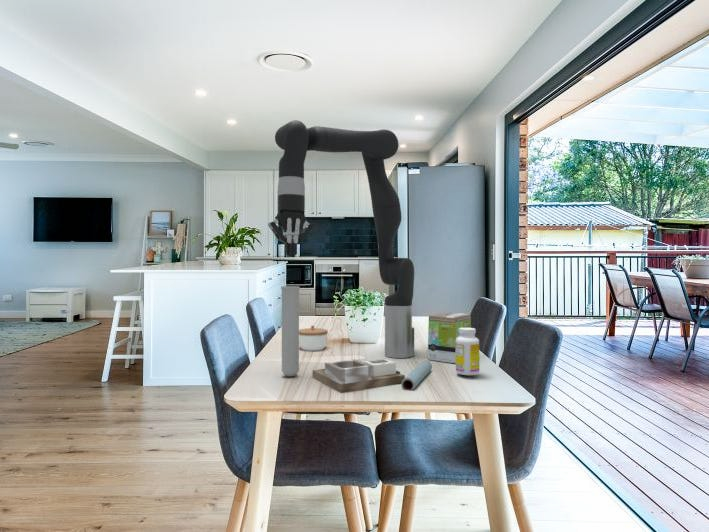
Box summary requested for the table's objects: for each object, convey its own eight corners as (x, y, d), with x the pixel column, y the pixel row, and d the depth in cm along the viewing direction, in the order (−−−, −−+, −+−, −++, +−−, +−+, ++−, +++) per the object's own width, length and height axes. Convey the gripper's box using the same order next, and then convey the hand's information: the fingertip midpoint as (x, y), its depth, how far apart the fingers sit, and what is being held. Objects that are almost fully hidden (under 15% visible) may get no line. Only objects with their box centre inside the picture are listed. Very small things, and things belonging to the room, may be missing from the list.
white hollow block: (385, 370, 123) (385, 358, 123) (395, 373, 118) (395, 361, 118) (363, 372, 119) (363, 360, 119) (373, 376, 115) (373, 364, 115)
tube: (297, 379, 121) (297, 287, 121) (278, 378, 122) (278, 287, 122) (301, 374, 127) (301, 286, 127) (283, 373, 127) (283, 286, 127)
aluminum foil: (414, 392, 110) (414, 378, 110) (388, 390, 112) (388, 376, 112) (432, 372, 131) (432, 360, 131) (410, 370, 134) (410, 359, 134)
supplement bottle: (480, 371, 130) (480, 327, 130) (478, 376, 124) (478, 330, 124) (456, 369, 132) (456, 326, 132) (454, 374, 126) (454, 329, 126)
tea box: (456, 363, 141) (456, 317, 141) (426, 360, 146) (427, 315, 146) (471, 355, 153) (471, 312, 153) (443, 352, 159) (443, 311, 159)
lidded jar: (296, 349, 164) (296, 324, 164) (324, 348, 167) (324, 323, 167) (299, 355, 154) (299, 328, 154) (330, 354, 156) (330, 327, 156)
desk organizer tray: (371, 369, 132) (371, 351, 132) (404, 382, 117) (404, 361, 117) (312, 377, 123) (312, 357, 123) (340, 392, 108) (340, 369, 108)
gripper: (272, 190, 118) (272, 256, 117) (318, 195, 124) (318, 257, 124) (263, 194, 124) (263, 257, 124) (307, 198, 131) (307, 257, 131)
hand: (290, 257), depth 124 cm, fingers closed
